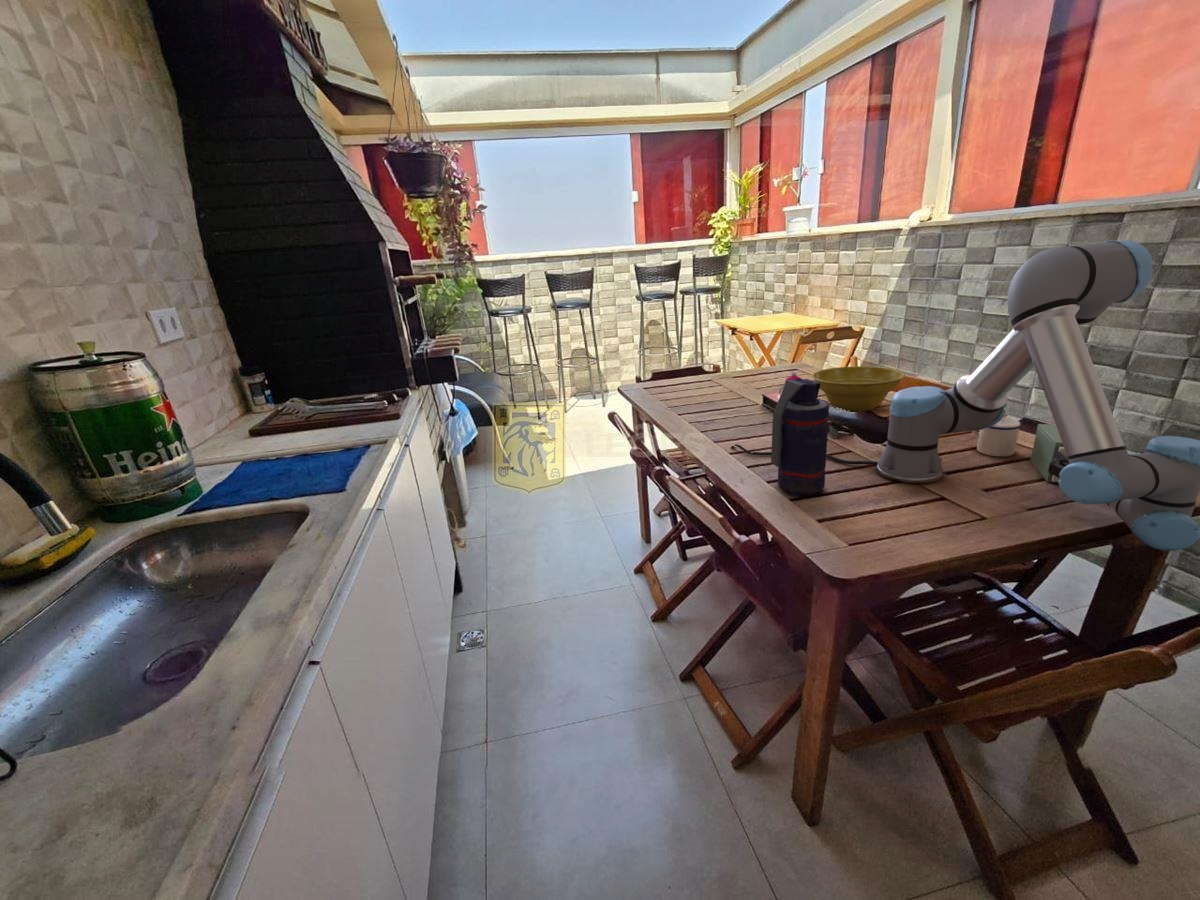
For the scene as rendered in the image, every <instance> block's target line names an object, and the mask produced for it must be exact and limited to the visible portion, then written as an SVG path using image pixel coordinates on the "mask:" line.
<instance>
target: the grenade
mask: <svg viewBox="0 0 1200 900" xmlns="http://www.w3.org/2000/svg"><path fill="white" fill-rule="evenodd" d="M820 385H821V383H818V382H815V380H812V379H808V378H801V379H794V380H787V381H786V383H785V382H784V385H782V386H781V387H780V389H779V392H778V393H779V398H778V401H777V403H776V405H775V407H774V410H773V411H772V430H771V451H770V452H771V455H770V463H771V464H773V465H774V466H775V467H776V468H777V485H778V487H780V488H781V489H783V490H785V491H787V492H789V494H790V495H791V496H793V497H801V495H810V494H815V493H818V494H819V493H822V491H823V490H824V488H825V486H826V485H825V484H826V467H827V458H826V454H828V453H827V450H828V435H829V434H828V433H829V432H828V431H829V416H830V415H829V414H830V402H829V401H826V400H824V399H821V398H819V397H818V396H819V392H820V390H821V389H820Z"/></svg>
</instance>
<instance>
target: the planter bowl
mask: <svg viewBox="0 0 1200 900" xmlns="http://www.w3.org/2000/svg"><path fill="white" fill-rule="evenodd" d="M905 377H906V373H904V372H903V371H901V370H897V369H894V368H888V367H881V366H880V367H879V366H865V365H864V366H862V365H861V366H855V365H854V366H841V367H831V368H824V369H821V370H818V371H815V372H813V373H812V374H811V378H812V379H813V380H814V381H815V382H818V383H821V385H820V389H819V390H821V391H822V392H824V395H825V398H826V399H827V400H828V401H827V402H828V403H829V405H831V406H832V407H834V406H835V407H838V408H842V409H845V410H850V411H849V412H866V411H872V410H874V409H875V408H877V407H879V406H880V405H881V403H882V402H883V401H884V400H885V399H886V397H887V395H888V394H889V393H891V391H894V390H895V389H896V388H897V387H898V386H899V384H900V382H901V381H902V379H904V378H905ZM835 407H834V408H835Z"/></svg>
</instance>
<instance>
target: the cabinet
mask: <svg viewBox="0 0 1200 900" xmlns="http://www.w3.org/2000/svg"><path fill="white" fill-rule="evenodd" d="M1059 446H1063V443H1062V441H1061V438H1060V435H1059V432H1058V430H1057V427H1056V424H1055V423H1053V424H1052V423H1051V424H1049V423H1037V428H1036V433H1035V438H1034V441H1033V446H1032V450H1031V456H1030V459H1029V461H1030V462H1031V464H1032V465H1033V466H1034V467H1035V468H1036V469H1037V471H1038V472H1039V474H1040V475H1041V476H1042V477H1043V479H1044V481H1046V482H1047V483H1054V482H1053V481H1052V476H1053V475H1052V474H1050V473H1048V468H1049V464H1050V462H1053V460H1054V456H1055V452H1056V451H1058V450H1059ZM1124 446H1125V448H1126V449H1127V447H1128V445H1127V444H1126V443H1124ZM1055 483H1058V482H1055ZM1058 484H1059V483H1058Z"/></svg>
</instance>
